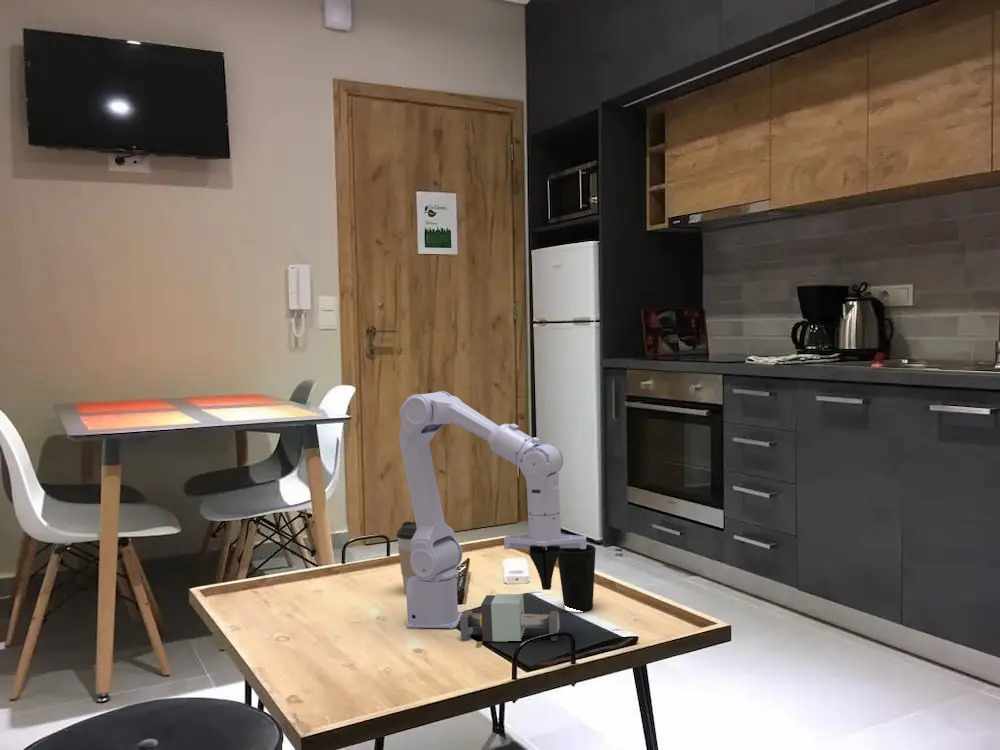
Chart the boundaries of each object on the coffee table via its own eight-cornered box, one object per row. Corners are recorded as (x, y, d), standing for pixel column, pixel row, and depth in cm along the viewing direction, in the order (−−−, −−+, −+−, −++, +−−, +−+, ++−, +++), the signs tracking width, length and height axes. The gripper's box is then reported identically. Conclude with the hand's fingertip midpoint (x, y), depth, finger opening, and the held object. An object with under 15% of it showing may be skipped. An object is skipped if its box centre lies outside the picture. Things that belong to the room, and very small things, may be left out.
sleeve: (492, 641, 153) (490, 603, 153) (497, 630, 159) (496, 594, 159) (520, 641, 152) (518, 603, 152) (524, 631, 158) (523, 594, 158)
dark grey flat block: (482, 641, 154) (481, 604, 153) (488, 630, 159) (486, 595, 159) (492, 641, 153) (491, 604, 153) (497, 630, 159) (496, 595, 159)
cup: (596, 614, 166) (593, 553, 166) (556, 614, 168) (554, 552, 167) (599, 602, 174) (597, 543, 173) (561, 602, 175) (559, 543, 175)
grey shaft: (457, 647, 152) (455, 622, 152) (465, 632, 159) (464, 609, 159) (555, 648, 149) (554, 623, 149) (559, 633, 156) (558, 610, 156)
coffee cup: (449, 588, 188) (446, 520, 188) (424, 600, 181) (420, 528, 180) (416, 584, 193) (413, 517, 193) (390, 594, 186) (387, 525, 185)
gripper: (500, 517, 151) (503, 594, 151) (583, 516, 148) (586, 595, 149) (506, 509, 158) (509, 583, 158) (585, 508, 155) (588, 583, 156)
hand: (546, 588), depth 154 cm, fingers closed
